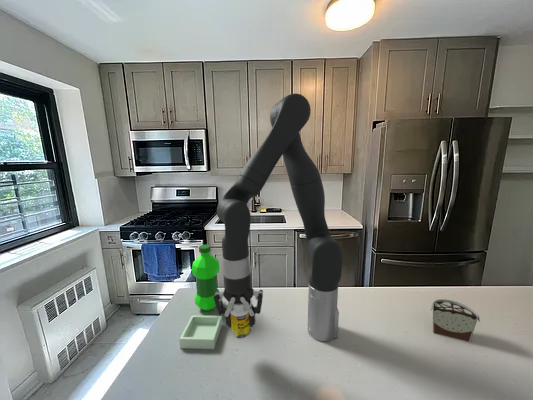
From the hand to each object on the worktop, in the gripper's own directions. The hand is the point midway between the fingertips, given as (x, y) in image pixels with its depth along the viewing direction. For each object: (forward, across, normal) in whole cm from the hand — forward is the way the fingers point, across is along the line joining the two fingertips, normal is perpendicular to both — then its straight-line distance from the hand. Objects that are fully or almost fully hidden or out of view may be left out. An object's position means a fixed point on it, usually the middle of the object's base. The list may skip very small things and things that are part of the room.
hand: (240, 325), depth 65 cm
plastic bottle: (+10, +16, -23) cm, 30 cm away
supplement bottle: (+3, 0, 0) cm, 3 cm away
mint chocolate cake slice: (+12, -67, -10) cm, 69 cm away
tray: (+10, +14, -8) cm, 19 cm away
